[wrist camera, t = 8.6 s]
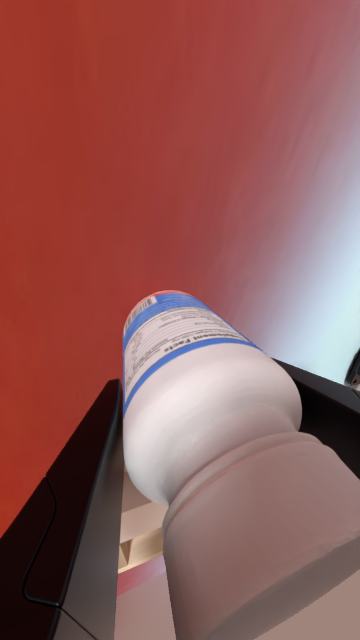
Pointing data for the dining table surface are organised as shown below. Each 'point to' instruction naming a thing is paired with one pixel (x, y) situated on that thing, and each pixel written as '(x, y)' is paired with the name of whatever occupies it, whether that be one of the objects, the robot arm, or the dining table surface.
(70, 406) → the dining table surface
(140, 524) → the cream block
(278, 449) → the pill bottle
